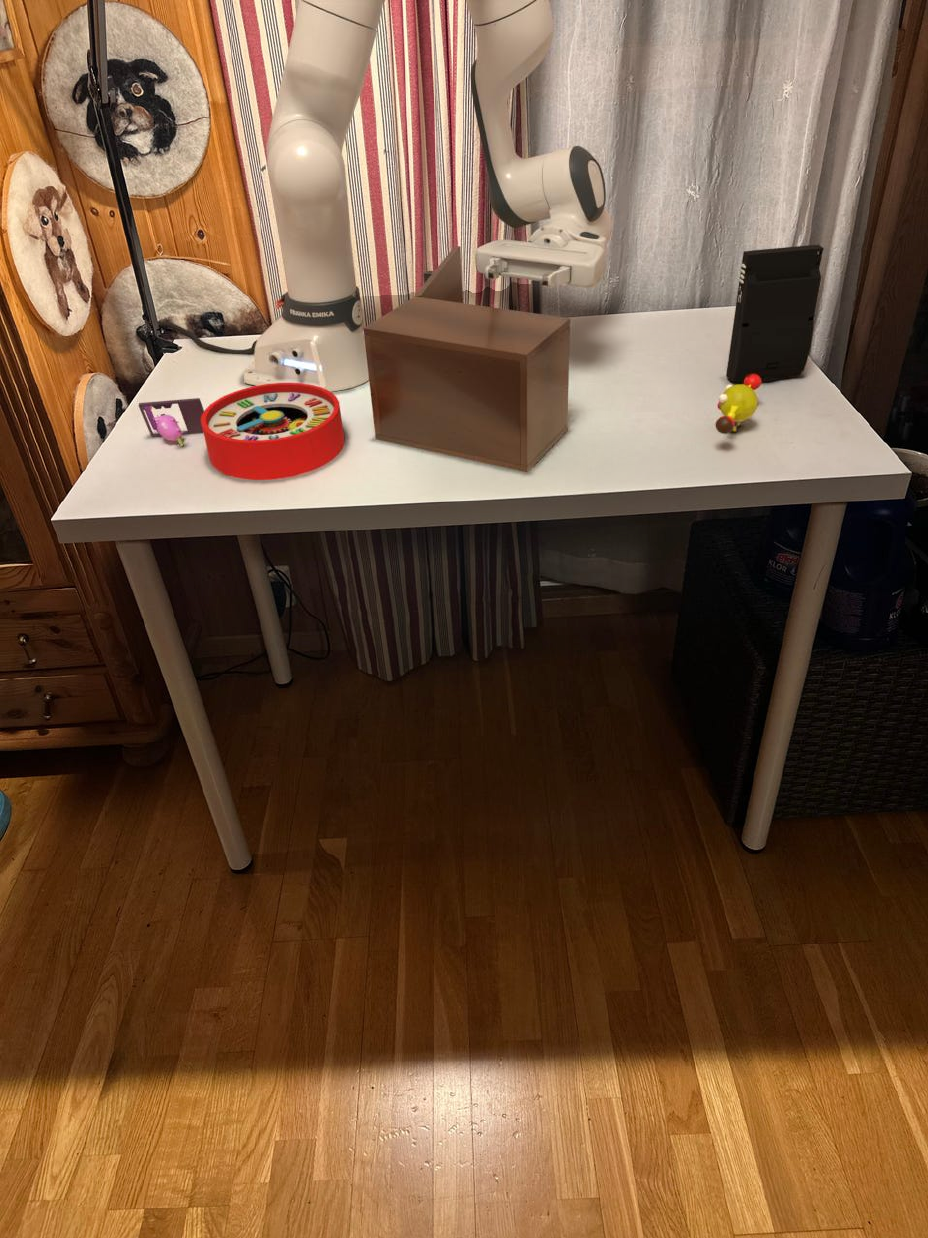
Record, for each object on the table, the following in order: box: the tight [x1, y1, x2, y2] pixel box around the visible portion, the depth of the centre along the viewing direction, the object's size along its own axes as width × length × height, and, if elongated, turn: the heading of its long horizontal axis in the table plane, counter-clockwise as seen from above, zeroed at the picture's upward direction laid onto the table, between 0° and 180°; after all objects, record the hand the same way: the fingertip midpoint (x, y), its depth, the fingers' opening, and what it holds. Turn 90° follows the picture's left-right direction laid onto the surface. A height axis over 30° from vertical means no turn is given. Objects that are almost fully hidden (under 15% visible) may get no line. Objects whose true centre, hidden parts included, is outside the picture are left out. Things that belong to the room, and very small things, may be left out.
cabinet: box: [363, 295, 571, 473], centre depth 132 cm, size 14×25×17 cm, turn 61°
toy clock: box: [201, 383, 345, 481], centre depth 135 cm, size 20×6×20 cm
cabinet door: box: [414, 245, 464, 303], centre depth 153 cm, size 6×25×17 cm, turn 166°
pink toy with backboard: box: [138, 397, 205, 447], centre depth 138 cm, size 7×5×9 cm
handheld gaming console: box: [725, 244, 824, 384], centre depth 143 cm, size 12×5×20 cm, turn 98°
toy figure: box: [715, 374, 763, 435], centre depth 133 cm, size 18×6×7 cm, turn 152°
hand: (517, 277), depth 138 cm, fingers open, 8 cm apart
